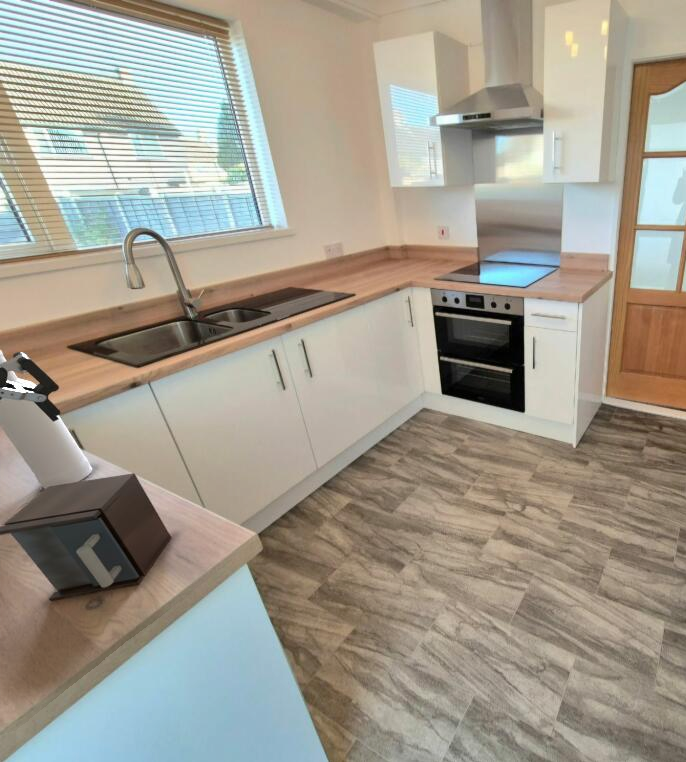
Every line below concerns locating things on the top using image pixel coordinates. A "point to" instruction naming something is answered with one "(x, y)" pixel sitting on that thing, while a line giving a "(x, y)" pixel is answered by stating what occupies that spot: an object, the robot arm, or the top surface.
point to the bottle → (42, 440)
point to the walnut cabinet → (81, 503)
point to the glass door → (95, 552)
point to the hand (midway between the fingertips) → (16, 436)
